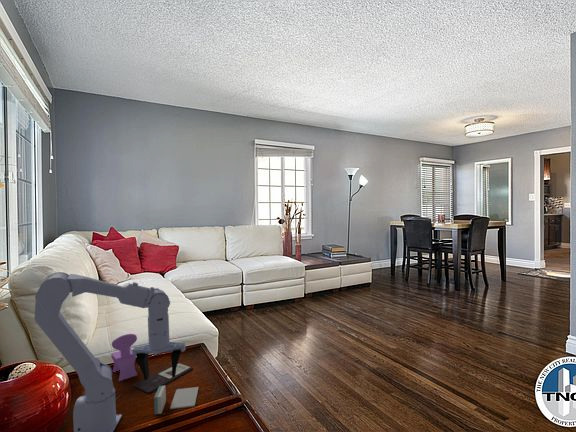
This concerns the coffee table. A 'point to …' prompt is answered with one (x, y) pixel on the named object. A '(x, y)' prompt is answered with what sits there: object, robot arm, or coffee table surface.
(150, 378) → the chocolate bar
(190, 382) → the coffee table surface
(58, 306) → the robot arm
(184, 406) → the mat
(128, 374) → the toy chair
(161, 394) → the tile
